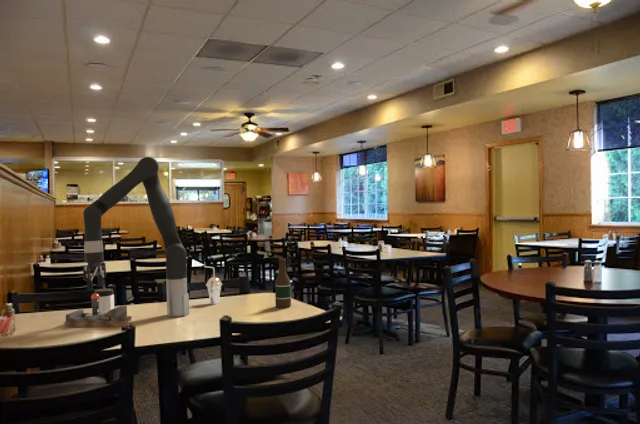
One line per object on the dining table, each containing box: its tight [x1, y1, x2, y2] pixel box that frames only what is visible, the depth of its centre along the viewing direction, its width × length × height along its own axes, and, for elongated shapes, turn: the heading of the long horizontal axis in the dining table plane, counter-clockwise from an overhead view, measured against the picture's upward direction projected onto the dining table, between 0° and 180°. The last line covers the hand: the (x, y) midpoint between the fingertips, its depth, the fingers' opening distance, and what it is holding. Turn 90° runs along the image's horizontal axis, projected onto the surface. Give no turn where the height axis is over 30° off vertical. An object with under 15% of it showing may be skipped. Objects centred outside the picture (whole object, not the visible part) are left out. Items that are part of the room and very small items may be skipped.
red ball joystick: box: [85, 293, 107, 317], centre depth 214 cm, size 7×7×11 cm
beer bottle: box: [274, 257, 292, 309], centre depth 242 cm, size 8×8×24 cm
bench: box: [63, 305, 132, 328], centre depth 214 cm, size 24×12×7 cm, turn 85°
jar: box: [93, 288, 115, 313], centre depth 231 cm, size 9×8×12 cm
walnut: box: [107, 310, 111, 319], centre depth 213 cm, size 4×4×4 cm
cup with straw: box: [203, 265, 224, 305], centre depth 254 cm, size 8×9×20 cm
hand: (95, 287), depth 213 cm, fingers open, 8 cm apart
